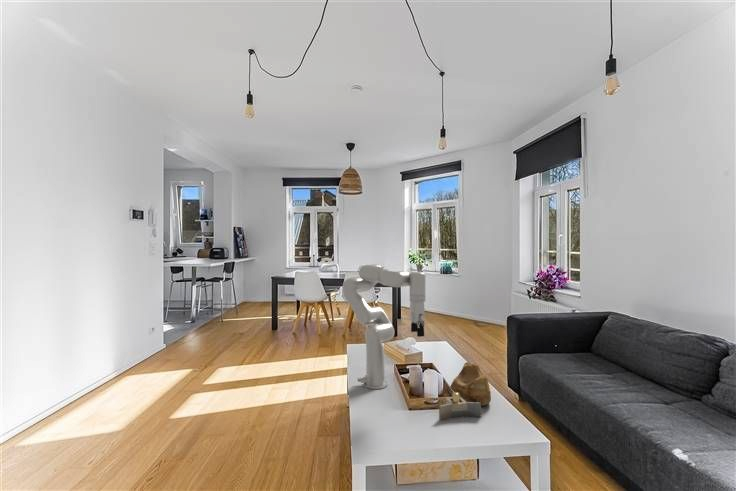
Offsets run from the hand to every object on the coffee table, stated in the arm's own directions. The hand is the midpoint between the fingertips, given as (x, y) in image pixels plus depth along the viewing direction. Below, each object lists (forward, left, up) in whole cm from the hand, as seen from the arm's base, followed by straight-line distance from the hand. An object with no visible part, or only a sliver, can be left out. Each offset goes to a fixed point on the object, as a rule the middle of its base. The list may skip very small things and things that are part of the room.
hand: (417, 333), depth 182 cm
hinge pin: (+12, -18, -31) cm, 38 cm away
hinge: (+12, -18, -31) cm, 38 cm away
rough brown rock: (+25, -3, -32) cm, 40 cm away
